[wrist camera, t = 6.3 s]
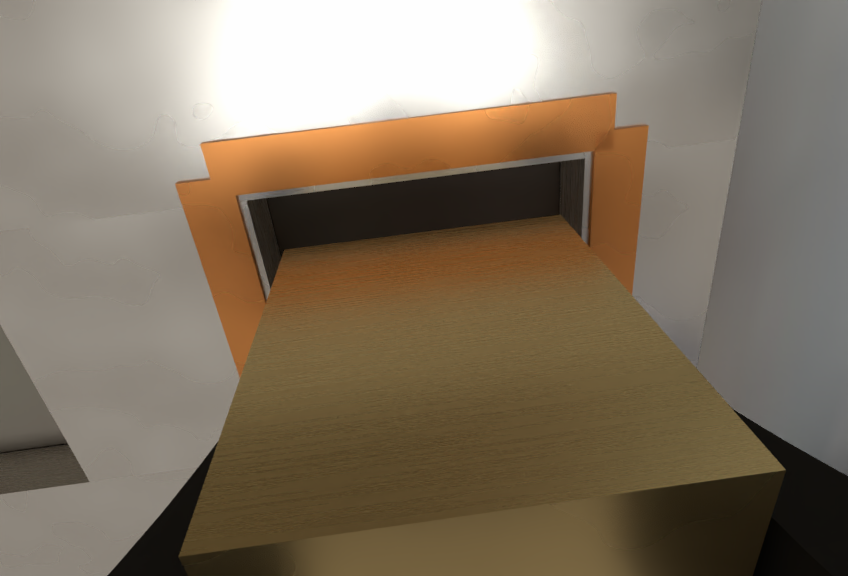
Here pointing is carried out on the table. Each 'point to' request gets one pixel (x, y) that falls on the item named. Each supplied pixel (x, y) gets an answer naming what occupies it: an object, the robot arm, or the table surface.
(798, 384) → the table surface
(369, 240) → the brass nut
